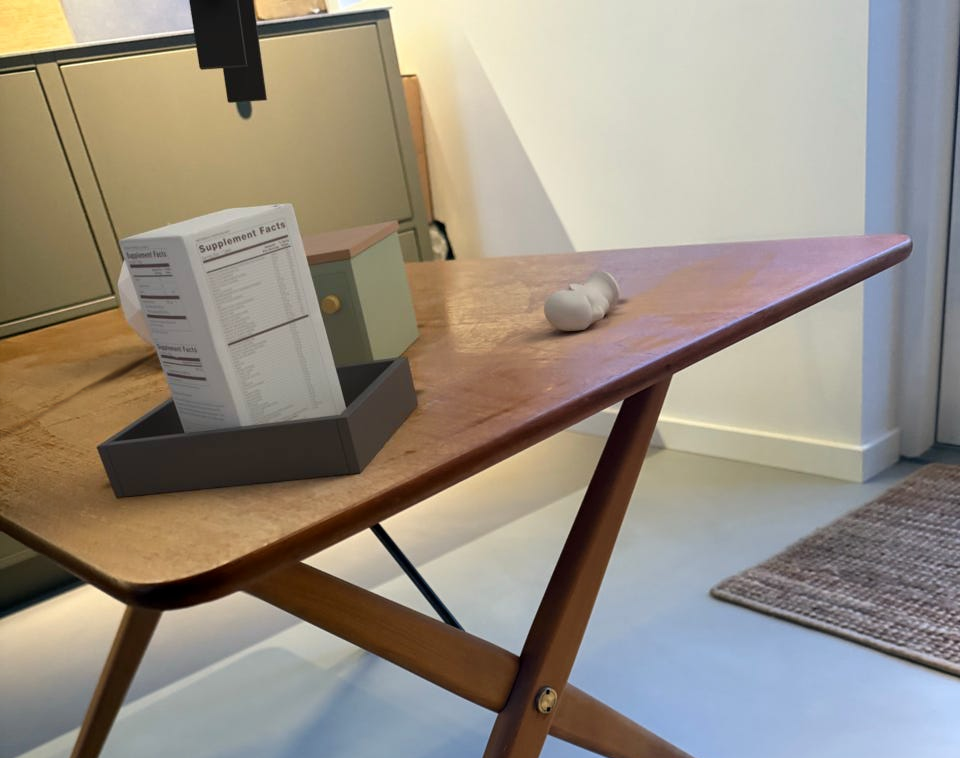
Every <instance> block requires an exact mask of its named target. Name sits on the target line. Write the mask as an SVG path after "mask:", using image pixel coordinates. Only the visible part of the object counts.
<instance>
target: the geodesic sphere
mask: <svg viewBox="0 0 960 758" xmlns="http://www.w3.org/2000/svg"><path fill="white" fill-rule="evenodd" d="M172 224H173V223H172V222H169V221H167V225H166V226H168V225H172ZM117 290H118V291H117V292H118V294H119V295H118V296H119V300H120V304H121V305H120V306H121V308H122V311H123V315H124V318H125V321H126V323H127V325H128V326H129V327H130V328H131V329H132V330H133V331H134V332H135V334H137V336H138V337H139V338H140V339H141V341H143V342H144V343H146V344H148V345H149V346H152V347H155V346H154V343H153V340H152V337H151V334H150V331H149V328H148V325H147V322H146V319H145V317H144V314H143V311H142V308H141V305H140V302H139V299H138V297H137V294H136V291H135V288H134V285H133V282H132V279H131V276H130V274H129V271H128V268H127V265H126V262H125V259H124V260H123V262H122V264H121V269H120V273H119V277H118V282H117Z"/></svg>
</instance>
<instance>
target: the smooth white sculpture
mask: <svg viewBox="0 0 960 758" xmlns="http://www.w3.org/2000/svg"><path fill="white" fill-rule="evenodd" d="M620 291H621V290H620V286H619V283H618V282H617V280H616V278H615V276H613V275H612V274H611V273H609V272H608V271H605V270H602V269H597V270H594V271H593V272H592V273H591V274H590V275H589V277H588V279H587V281H586V282H585V283H584V284H580V283H570V284H569V285H568V288H565V289H560V290H557V291H555V292H553V293H551V294H550V295H549V296H548V297H547V299H546V301H545V303H544V305H543V313H544V316H545V319H546V320H547V322H548V324H550V325H551V326H552V327H554V328H555V329H557V330H560V331H563V332H576V331H583V330H586V329H588V328H589V326H590V325H592V324H594V323H595V322H596V321H600V320H602V319H603V318H604V316H605V315H606V314H608V313H610V312H611V311H613V310H614V309H615V308H616V306H617V305H618V303H619V298H620V294H621V292H620Z"/></svg>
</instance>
